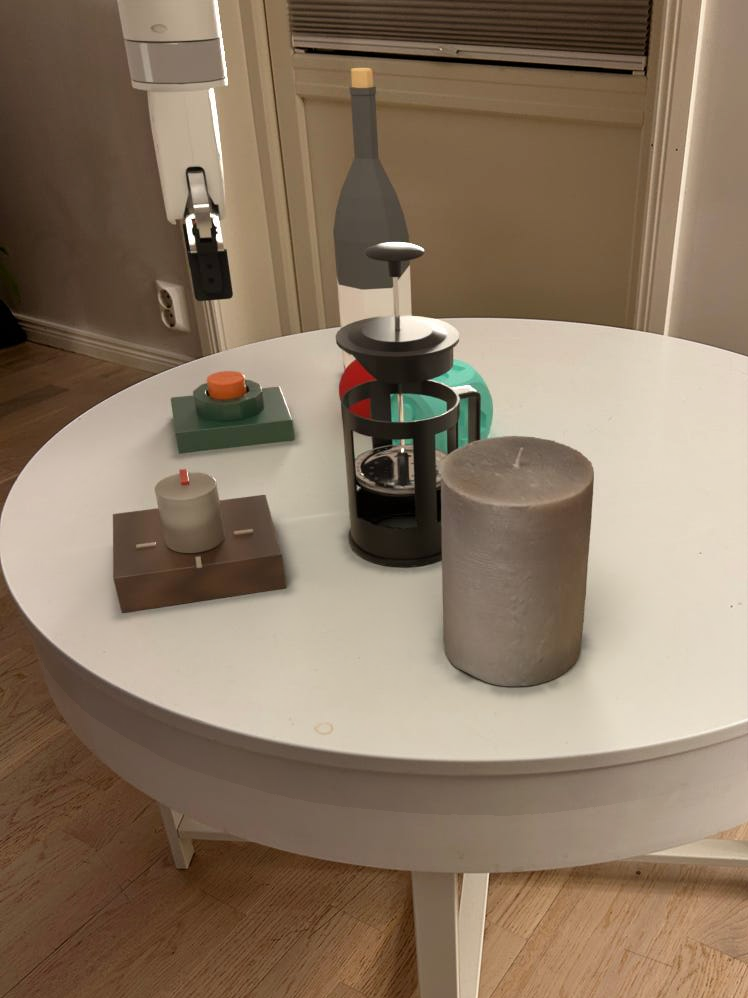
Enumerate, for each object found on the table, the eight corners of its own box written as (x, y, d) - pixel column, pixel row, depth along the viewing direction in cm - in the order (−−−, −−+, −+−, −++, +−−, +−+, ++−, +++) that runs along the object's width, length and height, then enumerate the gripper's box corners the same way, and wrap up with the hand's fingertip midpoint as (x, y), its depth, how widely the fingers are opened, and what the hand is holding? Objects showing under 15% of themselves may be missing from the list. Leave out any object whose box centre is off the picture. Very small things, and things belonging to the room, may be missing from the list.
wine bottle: (354, 361, 115) (334, 63, 98) (422, 366, 114) (413, 65, 96) (332, 386, 109) (306, 72, 91) (404, 392, 107) (391, 75, 90)
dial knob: (227, 548, 74) (218, 490, 71) (167, 557, 73) (154, 499, 70) (222, 521, 78) (212, 465, 75) (164, 529, 77) (152, 472, 74)
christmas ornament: (344, 411, 103) (336, 314, 97) (412, 410, 103) (409, 314, 98) (339, 440, 97) (330, 339, 92) (411, 439, 98) (407, 338, 92)
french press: (365, 580, 76) (343, 272, 63) (325, 526, 83) (297, 238, 70) (501, 546, 81) (507, 252, 67) (452, 498, 88) (449, 221, 74)
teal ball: (493, 449, 96) (495, 368, 91) (442, 479, 91) (441, 395, 86) (428, 428, 100) (426, 350, 95) (376, 456, 94) (371, 374, 90)
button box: (179, 454, 95) (171, 414, 92) (174, 417, 102) (167, 380, 99) (294, 440, 97) (290, 401, 95) (282, 406, 104) (278, 369, 102)
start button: (210, 403, 95) (207, 386, 94) (207, 390, 98) (205, 372, 97) (248, 399, 96) (246, 382, 95) (244, 386, 99) (242, 369, 98)
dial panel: (121, 615, 72) (112, 578, 71) (120, 546, 80) (112, 511, 79) (287, 590, 75) (282, 554, 73) (269, 526, 83) (265, 492, 81)
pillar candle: (566, 603, 74) (579, 413, 65) (594, 684, 66) (613, 479, 57) (436, 611, 73) (431, 419, 64) (448, 694, 65) (445, 487, 56)
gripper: (128, 55, 86) (164, 260, 96) (128, 80, 72) (171, 316, 82) (217, 53, 87) (244, 255, 97) (234, 76, 74) (262, 308, 84)
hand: (210, 283), depth 90 cm, fingers open, 9 cm apart
